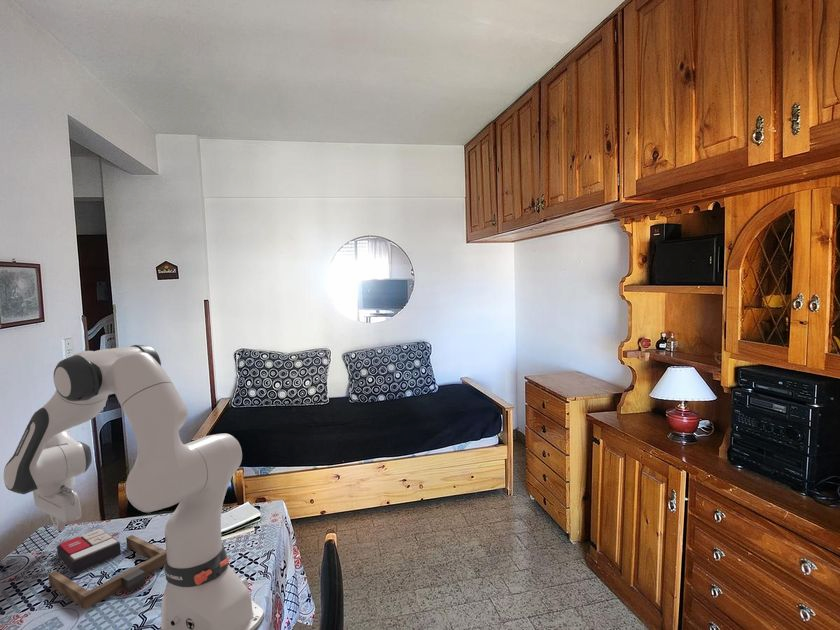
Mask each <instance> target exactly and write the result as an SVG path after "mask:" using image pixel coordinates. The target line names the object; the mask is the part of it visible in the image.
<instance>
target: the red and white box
mask: <svg viewBox="0 0 840 630" xmlns="http://www.w3.org/2000/svg"><path fill="white" fill-rule="evenodd" d="M121 549H122V548H121V542H120V541H119V540H117V539H116V538H115V537H113V536H112V535H110V534H109V533H107V532H106V531H105V530H103V529H102V528H97V529H95V530H92V531H90V532H87V533H84V534H82V535H81V536H76V537H74V538H73V537H72V538H70V539H68V540H66V541H63V542H61V543H60V542H59V544H58V545H57V546H56V551H57V552H56V553H57V557H58V558H59V559H60V560H61V562H63V563H64V565H66V567H68V569H69V570H70V572H71V573H72V574H73V575H75V574H78V573H81V572H83V571H85V570H87V569H89V568H92V567H94V566H97V565H100V564H102V563H104V562H106V561H108V560H111V559H113V558H116V557H117V556H120V555H121V554H122V551H121Z"/></svg>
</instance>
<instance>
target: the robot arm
mask: <svg viewBox="0 0 840 630" xmlns="http://www.w3.org/2000/svg"><path fill="white" fill-rule="evenodd" d="M161 361H162V360H161V358H160V355H159V353H158V352H157V350H155V349H154V348H153V347H151V346H149V345H147V344H146V345H144V344H134V345H131V346H124V347H123V346H122V347H121V346H120V347H113V348H102V349H98V350H95V351H94V350H83V351H79V352H76V353H74V354H73V355H71V356H69V357H66V358H64V359H62V360H60V361H59V362H58V363H57V364H56V366H55V368H54V370H53V384H54V386H55V388H56V390H55V392H54V394H53V395H52V397H51V398H50V399H49V400H48V401H47V402H46V403H45V404H44V405H43V406H42V407H41V408H39V409H38V410H36V411H35V412H34V413H33V414H32V416H31V418H30V420H29V421H28V424H27V425H26V428H25V430H24V431H23V434H22V435H21V438H20V440H19V442H18V445H17V447H16V449H15V451H14V453H13V454H12V456H11V457H10V459H9V460H8V462H7V463H6V465H5V467H4V470H3V481H4V485H5V488H6V490H8V491H11V492H13V493H16V494H19V495H26V494H28V493H31V492H32V495H33V501H34V505H35V506H36V508H37V509H38V510H40V511H42V512H44V513H46V514H48V515H49V517H50V519H51V522H52V525H53V526H52V528H53V529H54V530H56V531H59V532H61V531H63V530H65V529H66V524H69V523H72V522H75V521H77V520H79V519H81V516H82V509H81V504H80V498H79V495H78V493H77V492H76V491H73V489H72V488H73V487H75V485H76V477H77V476H80V475H82V474H85V473H86V472H87V471H88V470H89V468H90V466H91V465H92V462H93V461H92V460H93V459H92V458H93V457H92V450H91V447H90V445H88V444H86V443H85V442H82V441H77V440H76V439H74V438H73V436H72V435H71V433H70V429H71V428H74V427H76V426H80V425H83V424H84V423H87V422H89V421H91V420H92V419H94V418H95V417H97V416H98V415H99V414H100V413H101V412H102V411H103V409H104V408H105V406H106V404H107V401H108V397H109V396H111V395H115V397H116V398H117V401H118V403H119V405H120V407H121V409H122V410H123V412H124V414H125V416H126V418H127V421H128V422H129V424H130V427H131V429H132V432H133V434H134V436H135V439H136V444H137V446H136V447H137V452H136V453H137V455H136V459H135V463H134V465H133V467H132V468H131V470H130V471H129V473H128V475H127V478H126V482H125V493H126V497H127V499H128V501H129V503H130V504H131V506H133V507H134V508H135V509H137V510H138V511H141V512H143V513H151V512H155V511H159V510H163V509H166V508H170V507H172V506H174V505H177V504H178V505H177V507H176V508H175V510H174V511H173V513H172V514H171V515H170V516H169V518H168V520H167V522H166V524H165V526H164V527H165V528H164V536H165V538H164V539H165V540H164V541H165V550H166V554H167V558H166V561H165V566H164V574H165V580H166V581H167V582H166V584H165V585H166V586H165V589H164V593H163V595H162V598H161V612H160V613H161V618H160V620H161V621H160V622H161V623H160V624H161V625H160V629H159V630H256V628H258V627H259V625H260V624H261V622H262V621H263V619H264V617H265V611H264V609H263V608H262V607H260V605H258V604H257V603H256V602H255V601H254V600H253V599H252V597H251V593H250V590H249V588H248V587H249V581H248V578H247V577H241V578H240V577H239V576H238V574H237V573H236V571H235V568H233V567H231V565H229V563H230V562H231V560H230V559H231V557H230V556H227V551H226V549H225V547H224V544H223V540H222V539H223V538H222V511H223V510H222V509H223V504H224V500H225V496H226V494H227V491H228V487H229V485H230V483H231V480H232V478H233V476H234V474H235V473H236V471H237V470H238V469H239V467H240V466H241V464H242V460H243V452H242V447H241V444H240V442H239V440H238V439H237V438H235V436H233V434H232V435H231V434H229V433H226V432H225V433H216V434H215V433H214V434H210V435H206V436H203V437H200V438H197V439H195V440H193V441H190V442H187V443H185V444H184V443H183V442H182V439H181V437H180V429H182V428H183V426H184V425H185V423H186V421H187V419H188V413H189V412H188V411H189V410H188V408H187V406H186V404H185V402H184V401H183V398H182V397H181V395H180V394H179V392H178V390H177V389H176V386H175V385H174V383H173V381H172V380H171V378H170V376H169V375H168V373H167V372H166V371H165V369H164V368H163V367H162V362H161Z"/></svg>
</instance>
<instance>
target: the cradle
mask: <svg viewBox="0 0 840 630" xmlns="http://www.w3.org/2000/svg"><path fill="white" fill-rule="evenodd" d="M125 541H126V548H127V549H129V550H131V551H132V552H135V553H137V554H139V555H142V556H144V557H146V558H148V559H147V560H145V561H143V562H141V563H139V564H137V565H136V566H133V567H131V568H130V569H127V571H124V572H122V573H120V574H118V575H116V576H115V577H113V578H110V579H109V580H106V581H105V582H103V583H101V584H100V585H98V586H96V587H94V588H92V589H90V590H88V589H86V588H84V587H83V586H81V585H79V584H78V583H76V582H75V581H73V580H71V579H69V578H68V577H66V576H65V575H63V574H62V573H60V572H59V571H56V570H53V571H52V572H50V573H48V583H49V587H52V588H53V590H55V591H57V592H58V593H60V594H62V595H63V596H65V597H66V598H68V599H69V600H71V601H72V602H74V603H76V604H77V605H78V606H80V607H81V608H83V609H84V610H87V609H89V608H91V607H93V606H95V605H96V604H98V603H100V602H101V601H104V600H106V599H107V598H109V597H110V596H112V595H114V594H116V593H118V592H120V591H122V590H124V591H126V593H131V592H133V591H135V590H136V589H139V588H140V587H141V586H143V585H145V584H146V577H147V576H148V575H150V574H152V573H154V572H155V571H157V570H159V569H161V568H162V567H165V561H166V558H167V554H166V549H164V548H162V547H159V546H157V545H155V544H153V543H150V542H148V541H146V540H143V539H141V538H139V537H137V536H136V535H135V536H134V535H133V534H131V535H128V536H126V537H125Z"/></svg>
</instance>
